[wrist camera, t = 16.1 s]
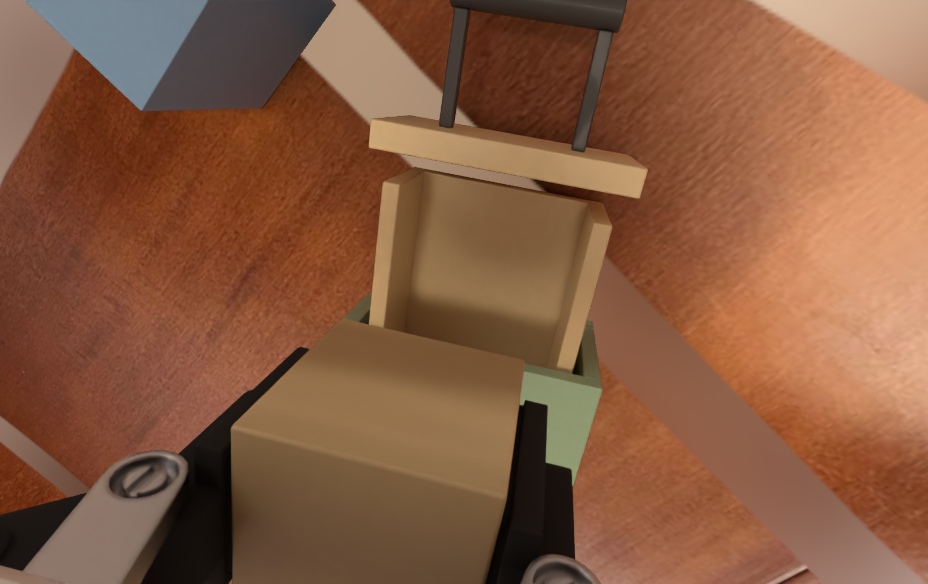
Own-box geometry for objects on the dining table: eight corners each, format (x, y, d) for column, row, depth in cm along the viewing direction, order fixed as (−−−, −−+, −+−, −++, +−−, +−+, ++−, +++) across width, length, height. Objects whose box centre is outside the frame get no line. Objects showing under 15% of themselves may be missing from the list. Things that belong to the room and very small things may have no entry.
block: (340, 317, 12) (228, 425, 8) (525, 358, 12) (507, 497, 8) (329, 465, 14) (231, 619, 10) (491, 507, 13) (460, 688, 9)
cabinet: (384, 276, 31) (333, 327, 24) (592, 321, 30) (603, 389, 23) (364, 466, 36) (317, 554, 29) (539, 511, 35) (534, 614, 28)
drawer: (424, -22, 24) (385, -57, 19) (667, 15, 23) (700, -11, 18) (383, 343, 32) (346, 392, 26) (566, 385, 30) (568, 446, 25)
